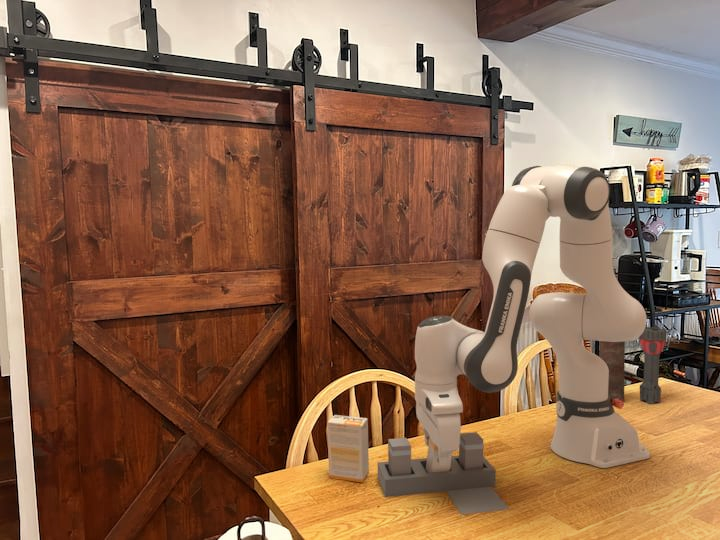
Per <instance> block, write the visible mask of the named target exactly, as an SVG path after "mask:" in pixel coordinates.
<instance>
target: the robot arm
mask: <svg viewBox="0 0 720 540" xmlns="http://www.w3.org/2000/svg"><path fill="white" fill-rule="evenodd" d="M609 182H610V181H608V178H607V176H606V174H605V173H604V172H603V171H601V170H599V169H596V168H594V167H590V166H581V167H580V166H575V165H568V164H558V165H546V166H545V165H544V166H541V165H534V166H529V167H527V168H524V169H522V170H520V172H519V173H518V174H517V175H516V176H515V177H514V180H513V181H512V184H511V186H510V187H508V188H507V189H506V190H505V191H504V193H503V195H502V196H501V198H500V199H499V202H498V203H497V206H496V208H495V210H494V213H493V215H492V218H491V220H490V222H489V226H488V228H487V229H488V230H487V231H486V235H485V238H484V242H483V248H482V255H481V256H482V257H481V261H482V263H483V267H484V268H485V269H486V271H487V273H488V275H489V277H490V280H491V283H492V287H493V296H492V297H493V298H492V302H491V307H490V309H489V313H488V314H489V315H488V318H487V322H486V326H485V329H484V331H482V330H479V329H476V328H471V327H469V326H466V325H464V324H462V323H460V322H458V321H457V320H455V319H454V318H453V317H451V316H449V315H434V316H431V317H427V318H425V319H424V320H421V322H420V323H419V324H418V326H417V327H416V328H417V329H416V332H415V333H416V334H415V337H414V338H415V340H414V360H415V365H416V371H415V375H414V400H415V403H416V404H415V413H416V419H418V421H419V422H420V424H421V425H422V430H423V435H424V443H425V445H426V447H428V446H429V438H430V437H431V438H432V440H433V441H434V442H435V444H436V445H437V447H438V450H439V455H437V462H438V463H439V465H440V466H446V465H447V464H448V455H449V453H450V452H452V453H453V452H454V453H455V452H458V451H459V445H460V433H461V430H462V429H461V426H462V424H461V423H462V421H461V414H462V413H463V412H464V411H463V410H464V405H463V402H462V400H461V397H460V395H459V390H458V387H457V385H458V384H457V377H458V376H459V375H465V376H466V378H467V380H468V382H470V384H471V385H472V386H473V387H474V388H475V389H477V390H478V391H480V392H484V393H488V394H489V393H497V392H500V391H502V390H504V389H506V388H507V387H508V386H510V385H511V384H512V382H513V381H514V379H515V378H516V376H517V373H518V367H519V364H518V363H519V362H518V361H519V360H518V352H517V351H518V349H517V348H518V340H519V336H520V333H521V332H520V331H521V326H522V323H523V319H524V315H525V310H526V307H527V302H528V298H529V292H530V285H531V280H532V273H533V270H534V269H533V268H534V266H535V262H536V258H537V254H538V251H539V248H540V244H541V242H542V238H543V234H544V231H545V227H546V222H547V220H548V219H549V218H550V217H552V218H558V217H559V220H560V222H559V267H560V270H561V273H562V274H563V275H564V276H565V277H566V278H567V279H569V280H571V281H572V282H574V283H576V284H578V285H579V286H581V287H582V289H584V290H585V291H586V293H580V292H578V293H577V292H564V291H563V292H562V291H560V292H559V291H556V292H548V293H542V294H538V295H537V296H536V297H535V298H534V299H533V300H532V302H531V305H530V308H529V312H528V313H529V320H530V323H531V325H532V327H533V329H535V331H536V332H537V333H539V334H540V335H541V336H542V337H543V338H544V339H545V340H546V341H547V342H548V344H549V345H550V347H551V348H552V350H553V352H554V354H555V358H556V361H557V368H558V391H557V392H556V405H555V406H556V415H557V416H556V422H555V429H554V432H553V433H554V434H553V437H552V440H551V443H550V445H549V446H550V449H551V451H552V452H554V453H555V454H556V455H558V456H559V457H562V458H564V459H566V460H570V461H573V462H576V463H581V464H582V463H583V464H588V465H591V466H594V467H596V468H601V469H606V468H607V469H608V468H612V467H616V466H621V465H626V464H629V463H634V462H638V461H643V460H648V459H650V458H651V455H650V451H649V449H647V448H646V447H645V445H643V444H642V443H640V438H639V433H638V431H637V429H636V428H635V426H634V425H633V424H631V423H630V422H629V421H627V420H626V419H625V418H623V416H622V415H620V414H619V413H617V411H615V409H614V407H615V408H617V409H618V410H621V409H623V408H624V407H625V402H623V401H620V400H619V399H614V400H613V398H612V397H610V396H608V381H609V369H608V366H607V364H606V363H605V362H604V361H603V360H602V359H601V358H600V357H599V355H597V354H595V353H593V352H591V351H590V350H588V349H587V348H586V346H585V345H584V343H583V341H582V340H587V341H588V340H589V341H598V342H599V341H607V342H624V341H625V342H633V341H636V340H637V339H640V338H639V337H640V336H641V334H642V333H643V332H644V330H645V327H646V326H647V320H648V319H647V314H646V311H645V308H644V307H643V305H642V303H640V301H639V300H637V299H636V298H635V297H633V296H632V295H630V294H629V293H628V292H627V291H626V290H625V289H624V288H623V287H622V285H621V283H619V280H618V279H617V277H616V273H615V271H614V265H613V253H612V251H613V250H612V246H613V245H612V244H613V243H612V241H613V238H612V234H613V233H612V232H613V231H612V220H611V213H610V208H609V207H610V206H609V200H610V196H611V195H610V194H611V186H610V183H609Z"/></svg>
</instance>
